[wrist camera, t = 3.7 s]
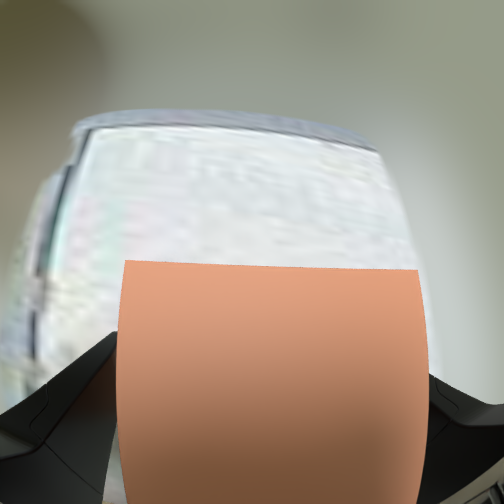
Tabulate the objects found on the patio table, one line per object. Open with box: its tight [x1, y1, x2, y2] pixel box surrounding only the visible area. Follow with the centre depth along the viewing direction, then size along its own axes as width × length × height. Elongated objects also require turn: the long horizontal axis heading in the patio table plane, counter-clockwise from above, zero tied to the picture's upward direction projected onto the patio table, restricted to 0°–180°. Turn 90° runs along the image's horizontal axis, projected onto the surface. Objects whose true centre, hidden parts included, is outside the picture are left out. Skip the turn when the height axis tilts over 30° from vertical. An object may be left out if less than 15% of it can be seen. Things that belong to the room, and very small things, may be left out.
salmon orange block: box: [116, 260, 429, 504], centre depth 8 cm, size 4×4×12 cm
